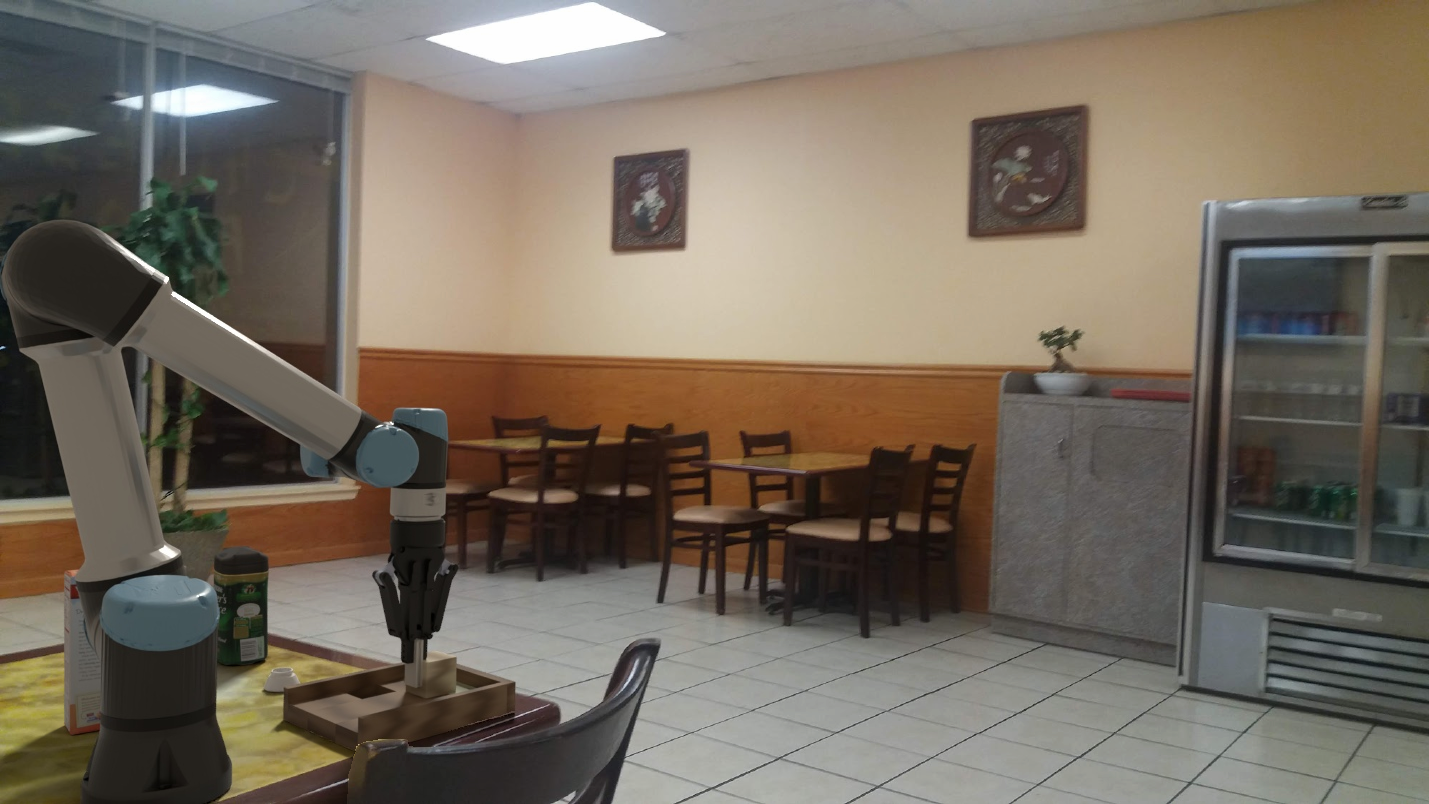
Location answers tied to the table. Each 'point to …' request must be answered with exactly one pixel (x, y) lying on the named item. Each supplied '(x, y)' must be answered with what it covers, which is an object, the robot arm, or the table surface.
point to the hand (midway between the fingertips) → (413, 685)
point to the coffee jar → (242, 605)
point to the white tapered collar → (280, 679)
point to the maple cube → (436, 675)
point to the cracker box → (79, 666)
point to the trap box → (392, 705)
